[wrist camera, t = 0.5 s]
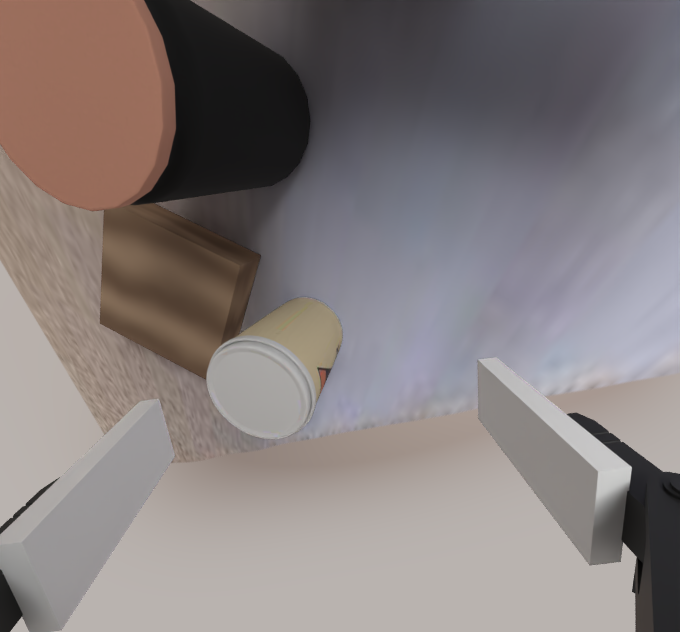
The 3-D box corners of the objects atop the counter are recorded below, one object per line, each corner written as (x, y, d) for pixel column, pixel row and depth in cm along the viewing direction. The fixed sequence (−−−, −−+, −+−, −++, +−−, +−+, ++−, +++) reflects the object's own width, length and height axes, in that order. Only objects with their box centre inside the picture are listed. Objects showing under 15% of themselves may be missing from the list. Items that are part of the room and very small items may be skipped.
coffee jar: (183, 106, 32) (-75, 56, 16) (265, 13, 27) (14, -184, 12) (252, 209, 34) (82, 252, 18) (339, 138, 30) (212, 115, 14)
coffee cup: (314, 381, 41) (266, 459, 30) (254, 325, 40) (184, 386, 29) (369, 334, 36) (335, 406, 26) (303, 270, 35) (240, 318, 25)
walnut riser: (136, 195, 37) (104, 199, 34) (260, 255, 36) (240, 265, 32) (127, 310, 44) (99, 323, 41) (230, 364, 43) (211, 382, 40)
